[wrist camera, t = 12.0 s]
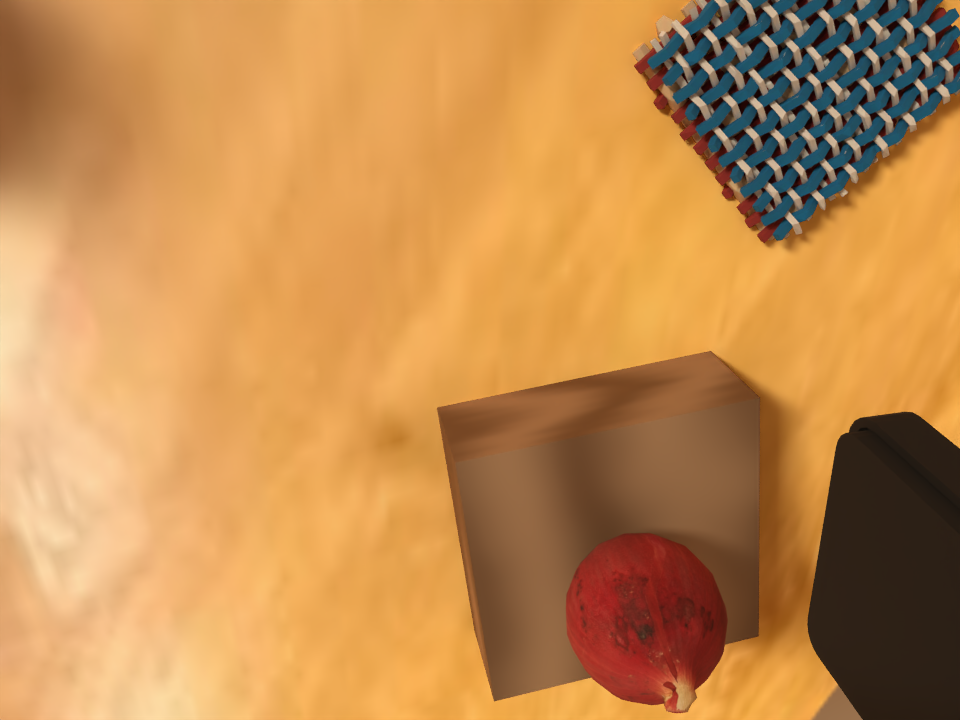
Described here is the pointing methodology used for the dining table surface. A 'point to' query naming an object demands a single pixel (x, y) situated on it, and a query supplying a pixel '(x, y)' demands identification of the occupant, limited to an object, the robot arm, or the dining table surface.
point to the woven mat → (800, 92)
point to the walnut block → (599, 498)
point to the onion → (646, 620)
